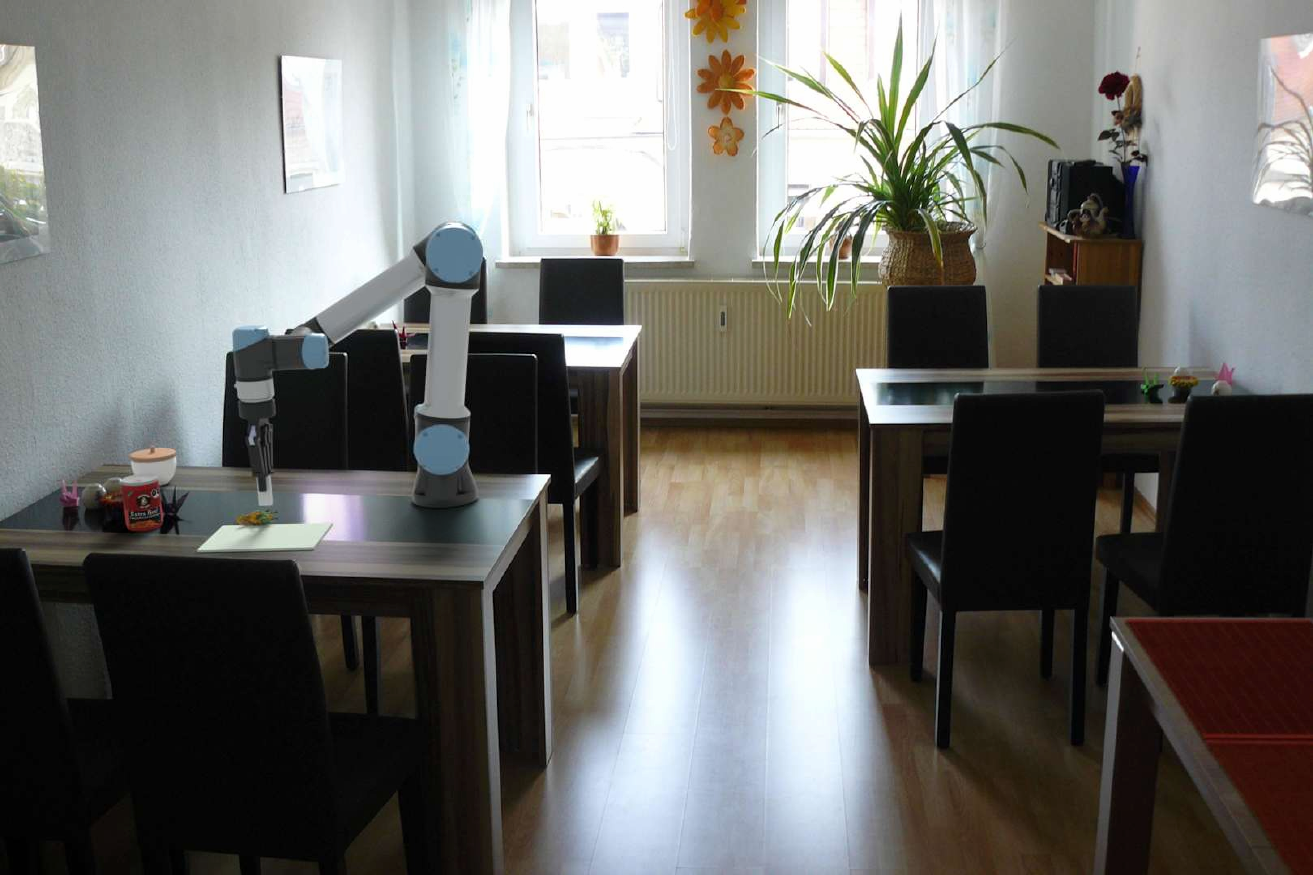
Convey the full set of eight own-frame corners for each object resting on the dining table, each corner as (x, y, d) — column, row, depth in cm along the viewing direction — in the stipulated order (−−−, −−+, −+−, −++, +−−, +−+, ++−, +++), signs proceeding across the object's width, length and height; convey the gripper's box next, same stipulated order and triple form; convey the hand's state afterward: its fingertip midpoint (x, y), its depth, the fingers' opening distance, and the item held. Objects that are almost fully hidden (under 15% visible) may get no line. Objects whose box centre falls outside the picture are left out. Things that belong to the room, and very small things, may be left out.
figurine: (287, 522, 282) (256, 529, 276) (254, 520, 290) (223, 527, 283) (285, 508, 282) (254, 515, 275) (252, 506, 289) (221, 513, 283)
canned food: (128, 533, 278) (122, 484, 276) (124, 524, 285) (118, 476, 283) (165, 528, 282) (160, 479, 279) (161, 519, 289) (155, 471, 286)
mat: (332, 525, 282) (332, 522, 281) (313, 549, 265) (313, 547, 265) (223, 527, 281) (222, 525, 281) (197, 552, 265) (196, 550, 265)
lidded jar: (169, 488, 314) (165, 451, 312) (125, 489, 314) (121, 452, 312) (185, 477, 325) (181, 441, 322) (143, 477, 325) (139, 441, 323)
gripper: (247, 393, 281) (257, 496, 286) (229, 405, 268) (239, 513, 273) (281, 392, 281) (291, 495, 286) (265, 404, 268) (275, 512, 273)
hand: (266, 504), depth 280 cm, fingers closed
